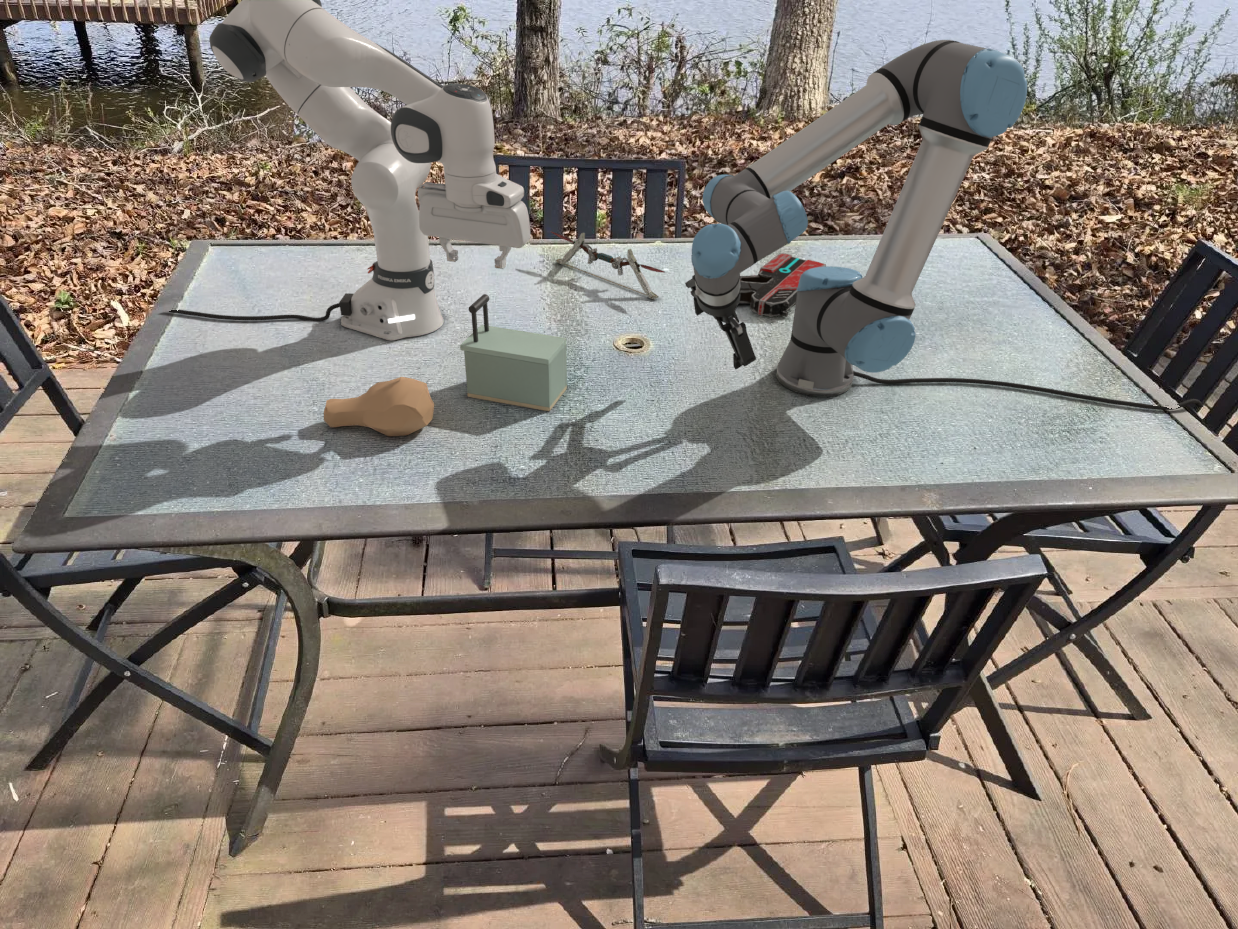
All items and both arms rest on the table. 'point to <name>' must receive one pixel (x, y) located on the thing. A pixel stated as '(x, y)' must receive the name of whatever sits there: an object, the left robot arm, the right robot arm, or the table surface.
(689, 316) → the table surface
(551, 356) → the lid
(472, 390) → the chest
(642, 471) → the table surface
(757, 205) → the right robot arm
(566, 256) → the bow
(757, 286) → the gun
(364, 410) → the squash
